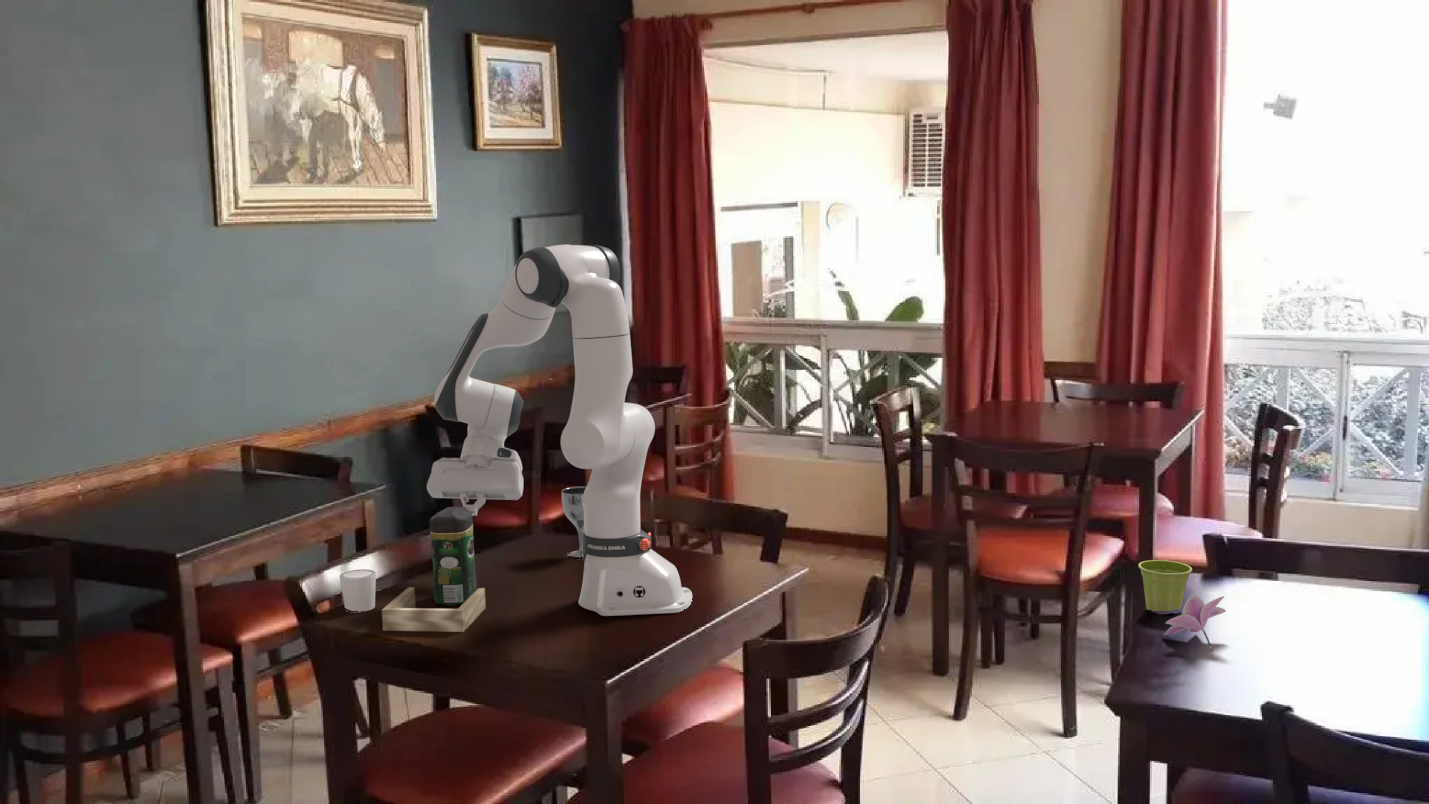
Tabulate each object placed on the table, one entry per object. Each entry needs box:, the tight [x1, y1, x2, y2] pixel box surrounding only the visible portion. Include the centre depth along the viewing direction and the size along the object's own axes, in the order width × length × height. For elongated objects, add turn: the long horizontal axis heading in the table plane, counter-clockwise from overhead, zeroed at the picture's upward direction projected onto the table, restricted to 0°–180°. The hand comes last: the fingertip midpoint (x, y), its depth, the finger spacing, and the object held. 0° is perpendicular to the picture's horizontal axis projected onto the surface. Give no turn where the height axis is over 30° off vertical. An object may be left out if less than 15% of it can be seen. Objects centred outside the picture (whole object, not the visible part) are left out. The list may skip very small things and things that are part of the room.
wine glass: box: [561, 485, 587, 558], centre depth 276 cm, size 8×8×15 cm
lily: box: [1163, 594, 1226, 647], centre depth 211 cm, size 12×12×10 cm
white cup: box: [339, 568, 377, 613], centre depth 241 cm, size 7×7×7 cm
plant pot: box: [1138, 559, 1193, 611], centre depth 229 cm, size 9×9×9 cm
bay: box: [381, 586, 487, 633], centre depth 234 cm, size 15×14×4 cm
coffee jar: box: [429, 506, 478, 607], centre depth 244 cm, size 10×8×19 cm
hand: (469, 514), depth 256 cm, fingers closed
